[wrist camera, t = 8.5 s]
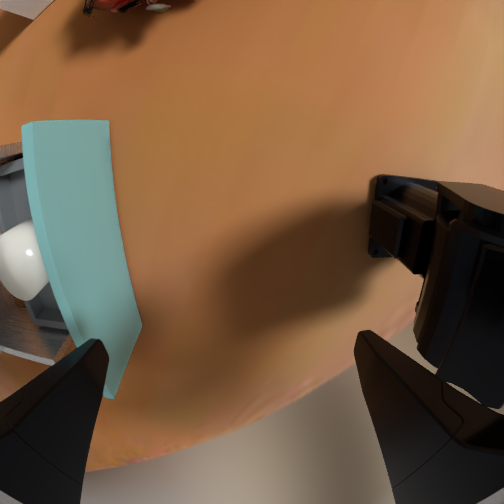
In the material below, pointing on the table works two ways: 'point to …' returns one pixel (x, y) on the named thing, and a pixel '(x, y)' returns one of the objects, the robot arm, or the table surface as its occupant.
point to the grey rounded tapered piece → (22, 261)
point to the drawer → (74, 235)
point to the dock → (27, 315)
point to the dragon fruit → (116, 0)
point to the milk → (25, 7)
